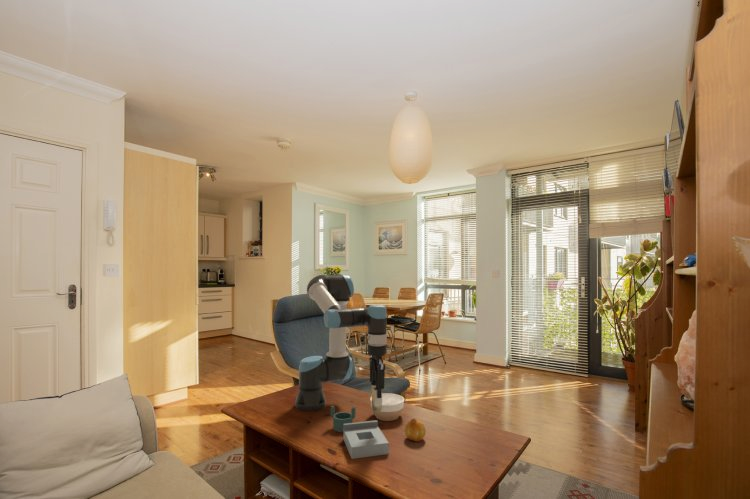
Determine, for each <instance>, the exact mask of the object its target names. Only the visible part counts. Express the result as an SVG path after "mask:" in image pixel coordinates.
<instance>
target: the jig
mask: <svg viewBox="0 0 750 499" xmlns="http://www.w3.org/2000/svg"><path fill="white" fill-rule="evenodd" d="M342 433H343V436H342V438H343V439H342V440H343V441H344V444H345V447H346V448H347V451H348V453H349V456H350V459H351V460H354V459H361V458H368V457H376V456H383V455H389V454H390V443H389V441H388V440H387V438H386V437H385V436H386V435H384V433H383V432H382V430H381V429H380V427H379V422H378V420H368V421H367V420H366V421H358V422H353V423H346V424H344V425H343V432H342Z"/></svg>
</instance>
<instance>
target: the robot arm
mask: <svg viewBox="0 0 750 499" xmlns="http://www.w3.org/2000/svg"><path fill="white" fill-rule="evenodd" d="M354 293H355V288H354V282H353V280H352V278H351V276H349V275H347V274H320V275H316V276H314V277H313V278H312V279H310V280H309V282H308V284H307V286H306V294H307V296H308V297H309V299H311V301H314V302H315V304H317V306H318V308H319V309H320V310H321V312H322V313H323V323H324V326H325V328H328V329H329V331H328V332H329V333H328V334H329V337H328V338H329V339H328V341H329V342H328V346H329V347H328V348H329V349H328V351H327V352H326V354H325V358H324V357H323V356H322V355H311V356H307V357H305V358H302V359H301V360H300V361H299V366H298V392H297V394H296V398H295V401H294V407H295V409H297V410H298V411H303V412H312V411H318V410H321V409H323V408H325V407H326V404H327V400H326V399H327V398H326V396H325V393H324V389H323V384H324V383H325V384H326V383H331V382H338V381H339V382H342V381H345V380H349V378H350V377H351V376H352V373H353V369H354V366H353V364H354V363H353V359H352V357H351V356H349V355H350V354H349V352H348V351H347V350H346V349H347V328H355V327H367V336H366V339H367V343H368V344H367V354H368V356H369V358H368V359H369V382H370V384H371V389H372V388H374V390H375V407H376V406H382V393H383V390H384V389H385V373H386V372H385V370H386V364H385V363H384V359H383V356H386V355H387V339H388V338H387V337H388V335H387V334H388V333H387V324H388V321H387V320H388V313H387V306H385V305H384V304H370V305H369V306H368V307H367V306H361V307H358V308H347V304H348V303H349V302H350V298H353V296H354Z"/></svg>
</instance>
